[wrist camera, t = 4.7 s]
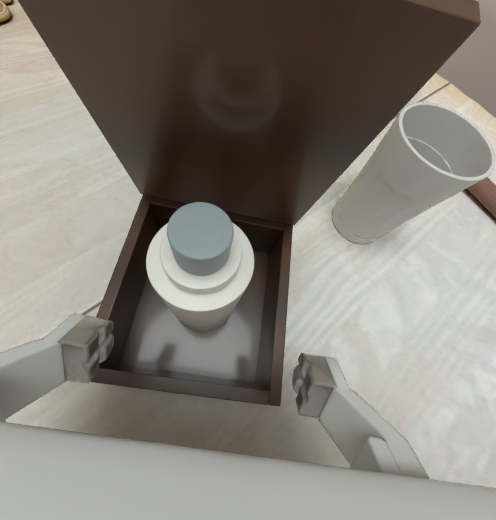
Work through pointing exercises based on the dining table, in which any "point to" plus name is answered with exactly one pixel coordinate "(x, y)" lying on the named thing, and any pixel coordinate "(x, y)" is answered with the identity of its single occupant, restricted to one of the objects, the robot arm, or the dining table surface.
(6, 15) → the cookie
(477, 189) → the brown handled opener
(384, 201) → the cup
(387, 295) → the dining table surface
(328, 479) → the robot arm
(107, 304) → the chest
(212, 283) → the bottle
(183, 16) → the chest lid
